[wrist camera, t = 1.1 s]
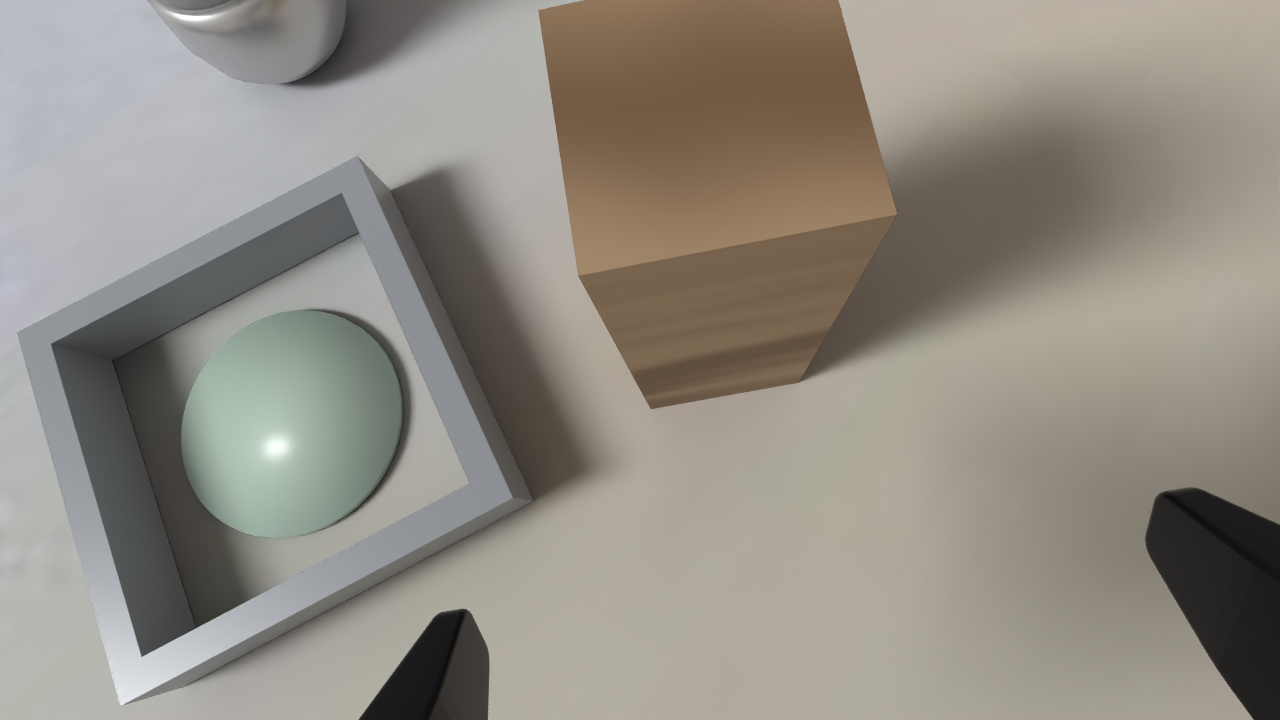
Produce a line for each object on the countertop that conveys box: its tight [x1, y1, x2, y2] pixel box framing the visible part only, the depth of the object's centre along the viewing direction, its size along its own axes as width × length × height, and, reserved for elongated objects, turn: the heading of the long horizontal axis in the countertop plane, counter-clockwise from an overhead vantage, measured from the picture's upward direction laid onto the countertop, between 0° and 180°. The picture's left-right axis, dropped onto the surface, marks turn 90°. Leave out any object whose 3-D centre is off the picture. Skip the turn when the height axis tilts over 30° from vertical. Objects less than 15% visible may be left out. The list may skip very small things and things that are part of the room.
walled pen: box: [17, 156, 534, 706], centre depth 24 cm, size 13×13×2 cm
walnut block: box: [538, 0, 897, 409], centre depth 18 cm, size 5×5×13 cm
